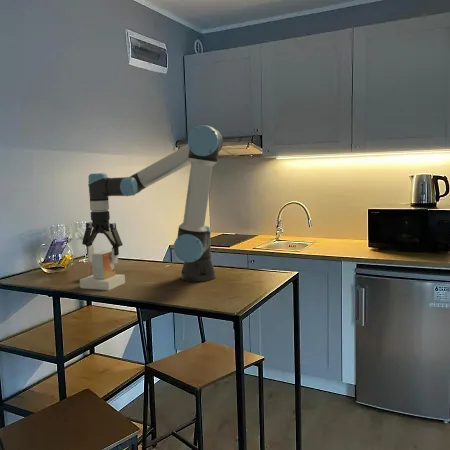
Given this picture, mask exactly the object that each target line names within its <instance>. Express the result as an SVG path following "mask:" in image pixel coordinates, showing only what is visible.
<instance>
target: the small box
mask: <svg viewBox="0 0 450 450" xmlns="http://www.w3.org/2000/svg"><path fill="white" fill-rule="evenodd" d="M91 263H92V266H93V278H94V279H105V278H108V277H111V276H114V275H115V274H116V265H115V264H116V263H115V264H112V250H102V251H99V252H94V254H92V262H91Z"/></svg>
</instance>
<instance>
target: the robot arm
mask: <svg viewBox="0 0 450 450" xmlns="http://www.w3.org/2000/svg"><path fill="white" fill-rule="evenodd" d="M223 145H224V139H223V136H222V134H221V132H220V131H219V130H218V129H216V128H214V127H213V126H211V125H208V124H206V125H201V124H200V125H197V126H196V127H194V128H193V129H192V130H191V131H190V132H189V134H188V138H187V144H186V145H184V146H183V147H181V148H179V149H176V151H174V152H172V153H170V154H168V155H167V156H165V157H163V158H161V159H159V160H157V161H155V162H153V163H152V164H150V165H148V166H146V167H145V168H143V169H141V170H140V171H138V172H136V173H134V174H132V175H130V176H125V177H122V176H121V177H108V175H107V173H106V172H101V173H100V172H99V173H98V172H97V173H96V172H95V173H90V174H89V175H88V183H87V185H88V194H89V195H88V196H89V210H90V211H91V212H90V222H86V223H85V231H84V235H83V238H82V241H81V244H82V246H83V245H84V246H85V247H86V253H87V257H88V263H92V254H94V253H95V250H94V245H93V243H94V241H95V239H96V238H97V235H98V234H103V235H104V236H105V237H106V238H107V240H108V242H109V243H110V244H111V246H112V247H111V251H112V264H119V255H120V253H119V248H120V247H122V246H123V242H122V239H121V237H120V233H119V231H118V229H117V223H116V222H113V223H110V216H111V215H110V211H109V209H110V204H109V203H110V202H109V199H110V198H109V197H130V196H131V197H132V196H135V195H136V194H139V193H141V191H143V190H145V189H146V188H148V187H150V186H152V185H153V184H156V183H157V182H159V181H161V180H163V179H164V178H166V177H168V176H170V175H172V174H174V173H176V172H178V171H180V170H182V169H183V168H185V167H187V166H189V165H190V169H189V175H188V176H189V177H188V183H187V184H188V185H187V191H186V199H185V205H184V214H183V221H182V223H181V224H179V226H178V230H177V237H176V239H175V240H174V244H173V251H174V254H175V256H176V257H177V259H179V260H180V261H181V262H183V264H182V265H183V266H182V269H181V272H180V276H181V277H180V279H181V280H183V281H186V282H207V281H211V280H214V279H215V278H216V269H215V267H214V264H213V261H212V251H211V250H212V249H211V245H212V244H211V243H212V242H211V229H210V228H211V227H210V226H208V225H205V223H206V222H205V221H206V214H207V210H208V209H207V208H208V201H209V194H210V188H211V181H212V173H213V167H214V166H215V165H216V164H217V163H218V158H219V153H220V152H221V150H222V148H223Z"/></svg>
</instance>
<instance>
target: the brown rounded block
mask: <svg viewBox="0 0 450 450" xmlns="http://www.w3.org/2000/svg"><path fill="white" fill-rule="evenodd" d="M87 272H88V276H91V275H93V266H92V262H88V263H87Z"/></svg>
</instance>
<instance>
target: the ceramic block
mask: <svg viewBox="0 0 450 450" xmlns="http://www.w3.org/2000/svg"><path fill="white" fill-rule="evenodd" d="M125 283H126V277H125V274H117V273H115V275H114V276H111V277H108V278H105V279H94V278H93V275H91V276H89V275H88V276H87V277H84V278H83V277H82V278H81V279H79V288H80V289H87V290H88V289H89V290H91V289H92V290H101V291H110V290H112V289H115V288H117V287H119V286H121V285H124V284H125Z"/></svg>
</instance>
